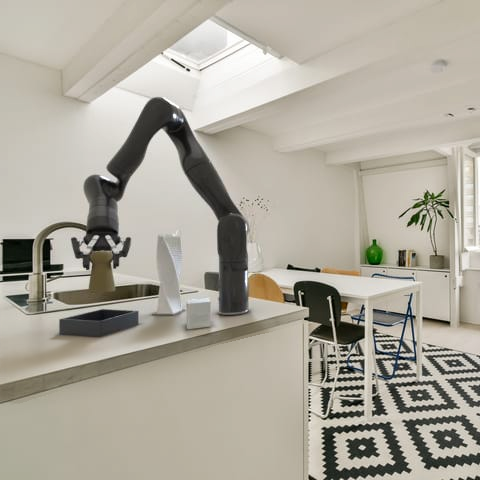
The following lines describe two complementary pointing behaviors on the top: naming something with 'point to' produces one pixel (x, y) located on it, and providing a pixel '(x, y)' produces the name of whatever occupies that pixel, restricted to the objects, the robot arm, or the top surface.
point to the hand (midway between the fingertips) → (101, 267)
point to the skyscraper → (169, 273)
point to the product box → (198, 313)
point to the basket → (98, 322)
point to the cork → (101, 272)
